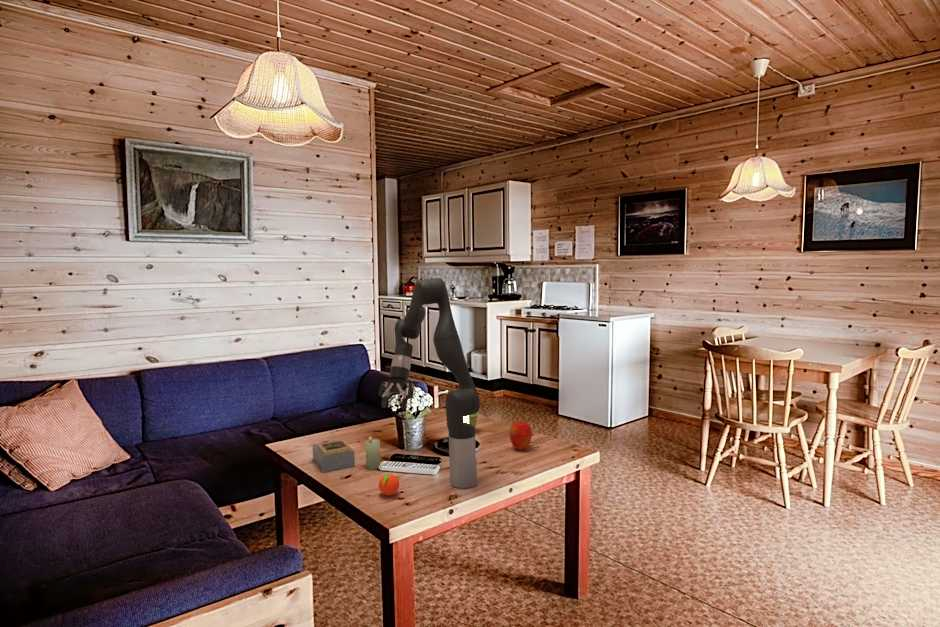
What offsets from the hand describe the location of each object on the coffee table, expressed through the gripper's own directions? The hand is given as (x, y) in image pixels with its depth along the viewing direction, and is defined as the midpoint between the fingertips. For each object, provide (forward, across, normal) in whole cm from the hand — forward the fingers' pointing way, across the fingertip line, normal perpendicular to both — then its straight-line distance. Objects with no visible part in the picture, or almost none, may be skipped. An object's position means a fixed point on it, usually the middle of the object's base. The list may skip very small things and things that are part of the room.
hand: (393, 408), depth 222 cm
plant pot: (0, +14, +44) cm, 47 cm away
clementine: (+33, +14, -17) cm, 40 cm away
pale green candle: (+23, -4, 0) cm, 23 cm away
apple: (+7, +43, +34) cm, 55 cm away
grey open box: (+23, -21, -2) cm, 31 cm away
